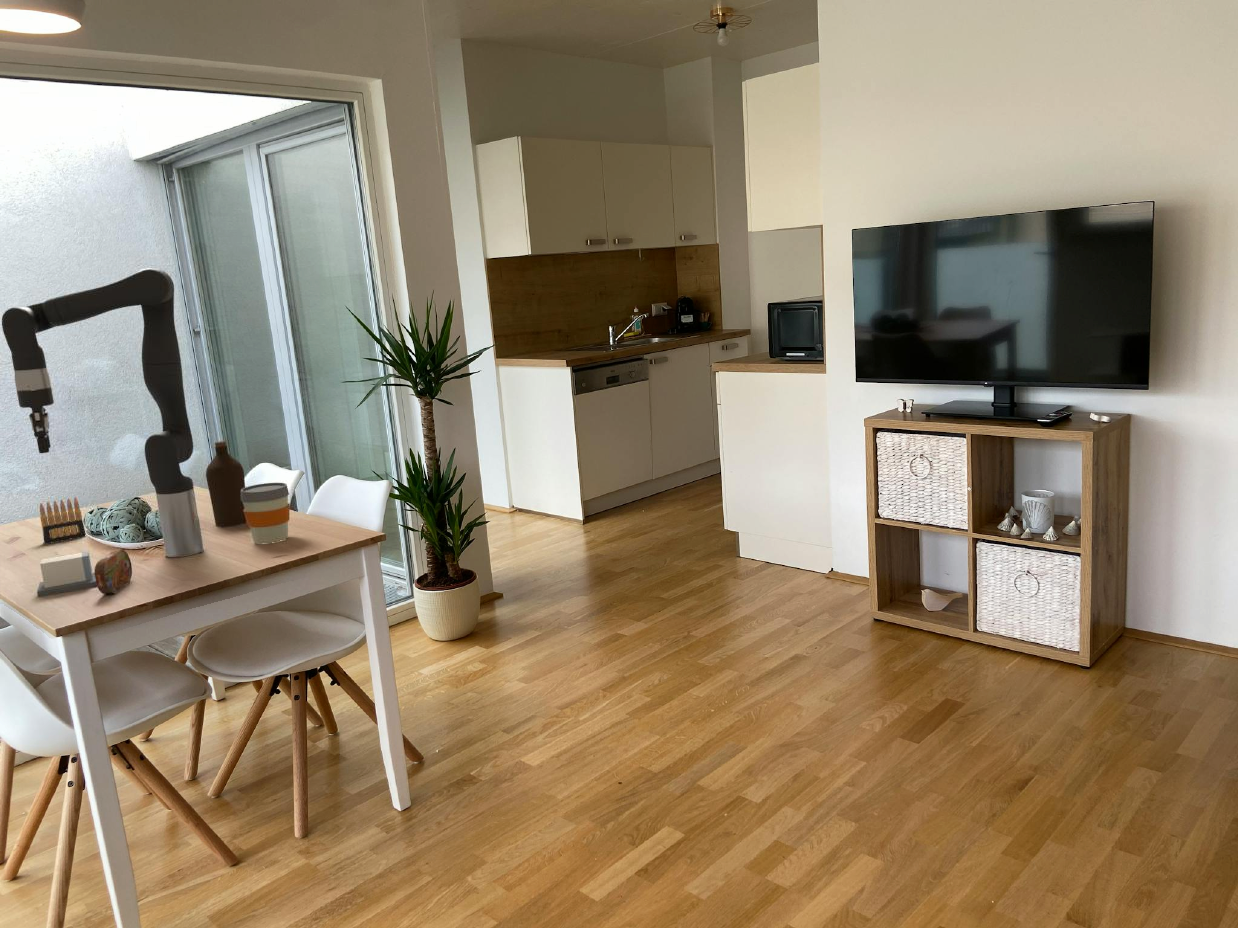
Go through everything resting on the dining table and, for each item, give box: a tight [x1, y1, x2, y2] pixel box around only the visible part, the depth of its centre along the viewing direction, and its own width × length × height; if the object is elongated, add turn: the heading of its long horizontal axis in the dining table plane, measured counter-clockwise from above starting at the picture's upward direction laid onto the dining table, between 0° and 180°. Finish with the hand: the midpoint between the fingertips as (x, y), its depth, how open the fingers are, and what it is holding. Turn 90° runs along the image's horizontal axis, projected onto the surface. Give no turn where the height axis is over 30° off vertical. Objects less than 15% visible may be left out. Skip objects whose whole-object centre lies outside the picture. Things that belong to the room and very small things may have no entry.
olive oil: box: [205, 440, 247, 527], centre depth 284 cm, size 11×11×25 cm
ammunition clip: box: [39, 497, 87, 544], centre depth 277 cm, size 11×2×12 cm, turn 128°
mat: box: [36, 572, 98, 598], centre depth 229 cm, size 13×9×1 cm
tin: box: [93, 549, 133, 595], centre depth 225 cm, size 15×3×8 cm, turn 7°
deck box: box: [39, 551, 94, 588], centre depth 229 cm, size 5×10×6 cm, turn 118°
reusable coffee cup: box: [241, 482, 290, 544], centre depth 261 cm, size 13×13×15 cm
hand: (45, 450), depth 240 cm, fingers open, 8 cm apart
